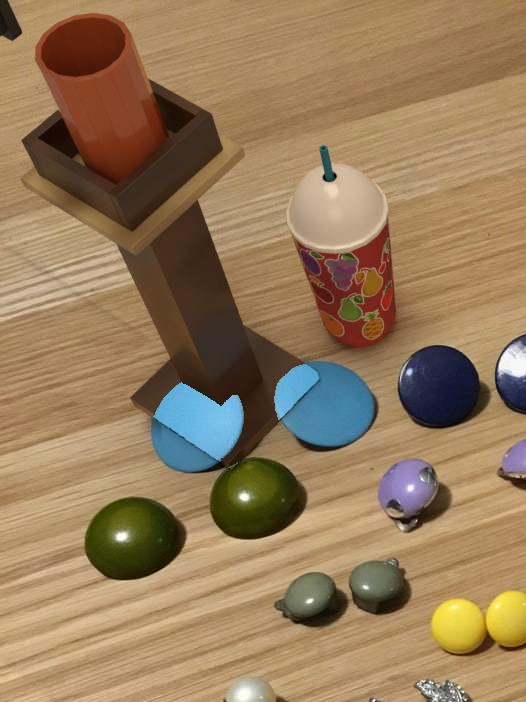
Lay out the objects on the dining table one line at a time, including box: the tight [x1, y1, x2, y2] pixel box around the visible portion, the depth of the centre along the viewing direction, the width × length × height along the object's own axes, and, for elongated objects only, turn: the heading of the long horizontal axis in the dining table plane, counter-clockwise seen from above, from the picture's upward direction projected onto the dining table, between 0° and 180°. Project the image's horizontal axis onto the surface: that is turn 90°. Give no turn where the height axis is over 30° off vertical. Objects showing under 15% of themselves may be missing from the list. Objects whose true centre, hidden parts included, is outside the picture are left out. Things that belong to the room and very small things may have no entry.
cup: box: [34, 12, 170, 186], centre depth 73 cm, size 6×6×9 cm
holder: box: [19, 78, 307, 469], centre depth 88 cm, size 12×12×29 cm
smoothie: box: [285, 144, 397, 348], centre depth 94 cm, size 8×8×20 cm
